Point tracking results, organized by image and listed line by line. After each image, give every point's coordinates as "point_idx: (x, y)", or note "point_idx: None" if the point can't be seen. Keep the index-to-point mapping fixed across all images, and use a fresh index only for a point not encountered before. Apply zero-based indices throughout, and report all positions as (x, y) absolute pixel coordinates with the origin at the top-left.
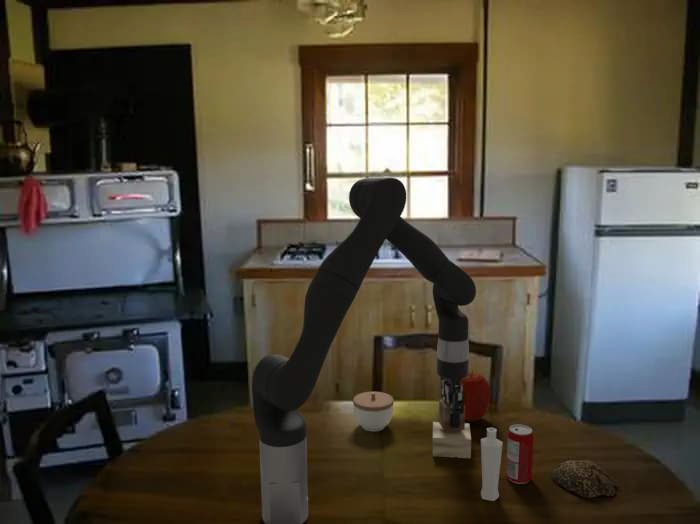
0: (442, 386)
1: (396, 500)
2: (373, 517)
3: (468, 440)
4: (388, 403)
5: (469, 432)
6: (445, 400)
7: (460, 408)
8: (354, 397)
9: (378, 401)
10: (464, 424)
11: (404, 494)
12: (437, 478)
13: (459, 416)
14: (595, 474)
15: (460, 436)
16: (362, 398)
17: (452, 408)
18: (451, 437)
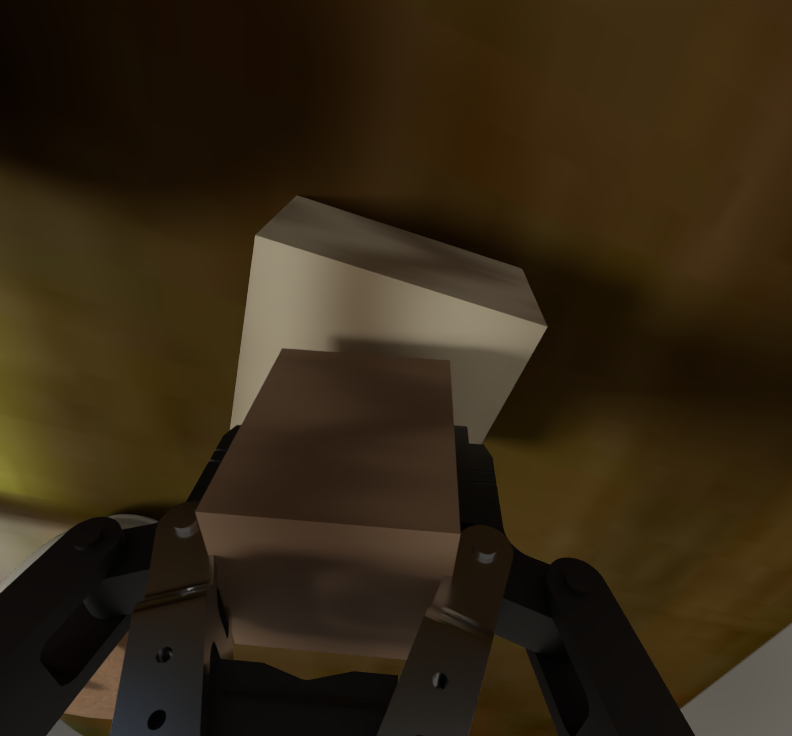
0: (50, 723)
1: (704, 598)
2: (750, 650)
3: (536, 338)
4: (113, 651)
5: (426, 295)
6: (259, 617)
7: (559, 621)
8: (65, 712)
9: (98, 675)
10: (450, 389)
11: (684, 576)
12: (641, 469)
13: (473, 498)
14: None
15: (475, 377)
16: (74, 703)
17: (541, 675)
18: (470, 428)
